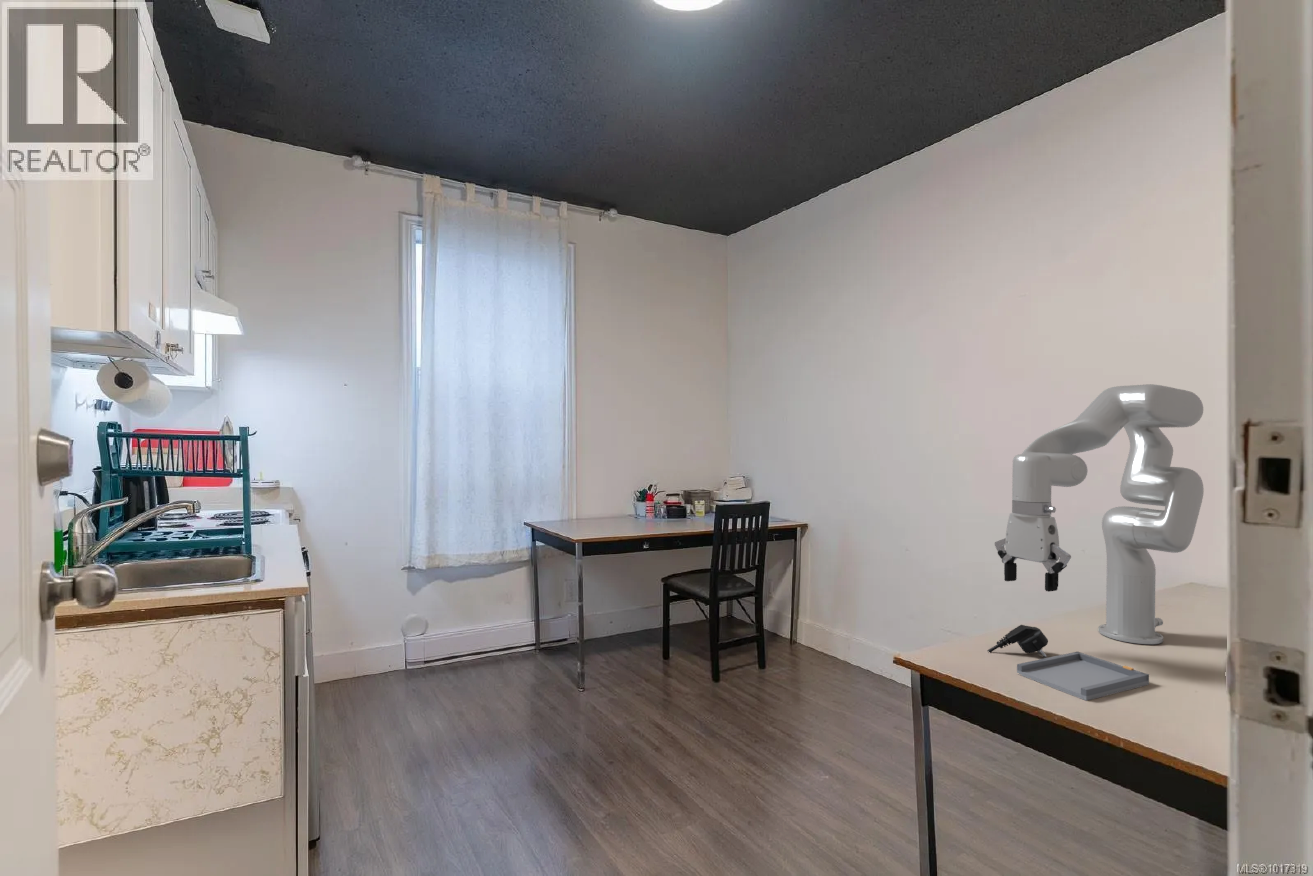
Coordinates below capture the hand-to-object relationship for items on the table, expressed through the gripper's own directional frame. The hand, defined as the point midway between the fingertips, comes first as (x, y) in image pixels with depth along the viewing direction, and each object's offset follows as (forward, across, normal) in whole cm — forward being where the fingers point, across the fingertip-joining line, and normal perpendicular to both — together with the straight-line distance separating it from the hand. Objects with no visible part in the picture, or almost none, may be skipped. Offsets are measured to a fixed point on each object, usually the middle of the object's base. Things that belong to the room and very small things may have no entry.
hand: (1030, 585), depth 140 cm
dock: (+16, -14, +3) cm, 21 cm away
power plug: (+16, +2, +2) cm, 16 cm away
